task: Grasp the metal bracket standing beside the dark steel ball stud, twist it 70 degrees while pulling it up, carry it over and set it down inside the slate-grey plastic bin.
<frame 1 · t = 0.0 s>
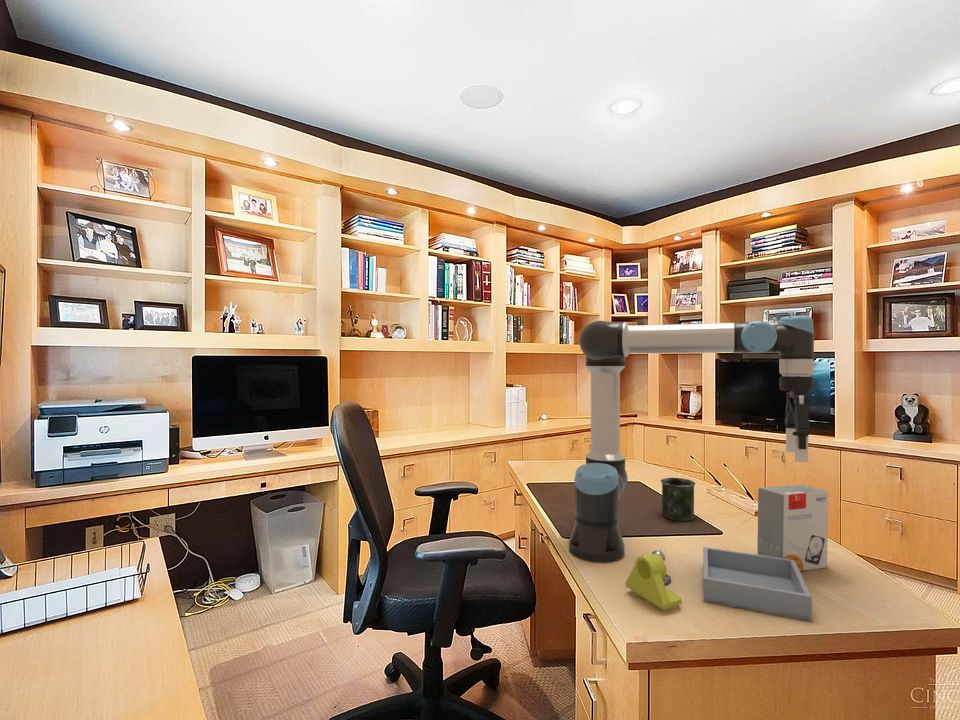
hand: (796, 456, 126), 28 cm above the table, tool pointing down, fingers open, 13 cm apart
hard drive box: (792, 566, 125), on the table
bracket: (654, 601, 107), on the table
ball stud: (658, 579, 117), on the table
mug: (676, 518, 163), on the table
bin: (750, 590, 112), on the table
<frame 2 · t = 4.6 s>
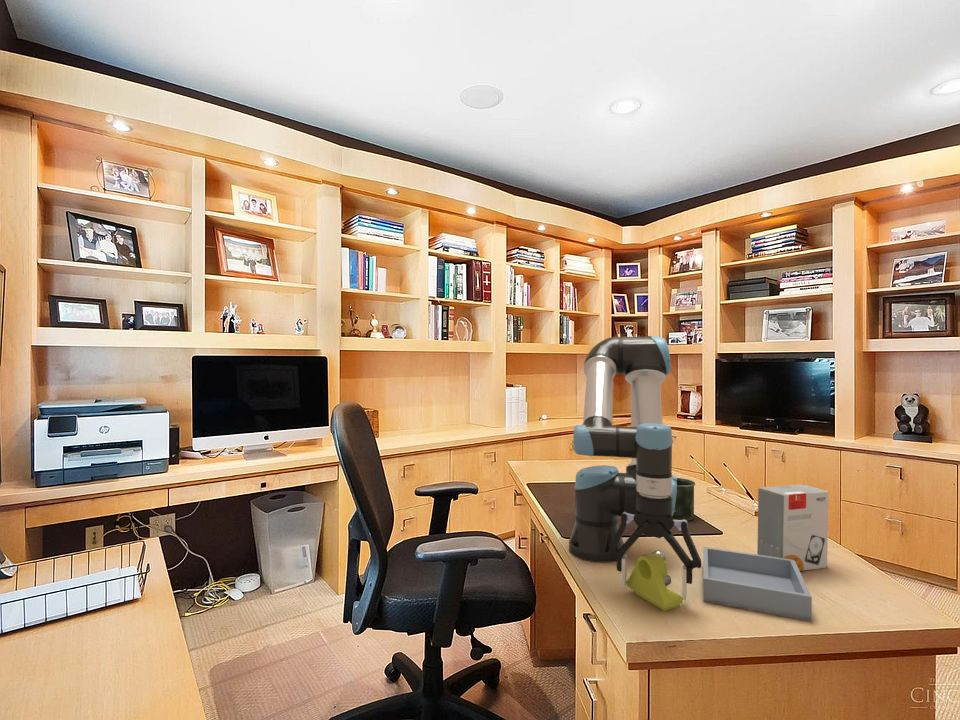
hand: (653, 591, 107), 2 cm above the table, tool pointing down, fingers closed on bracket, 12 cm apart
bracket: (654, 601, 107), on the table, touching gripper
everything else where it was.
when the fingers open (5 cm above the table, at t = 12.4 s): bracket drops 2 cm, resting on bin.
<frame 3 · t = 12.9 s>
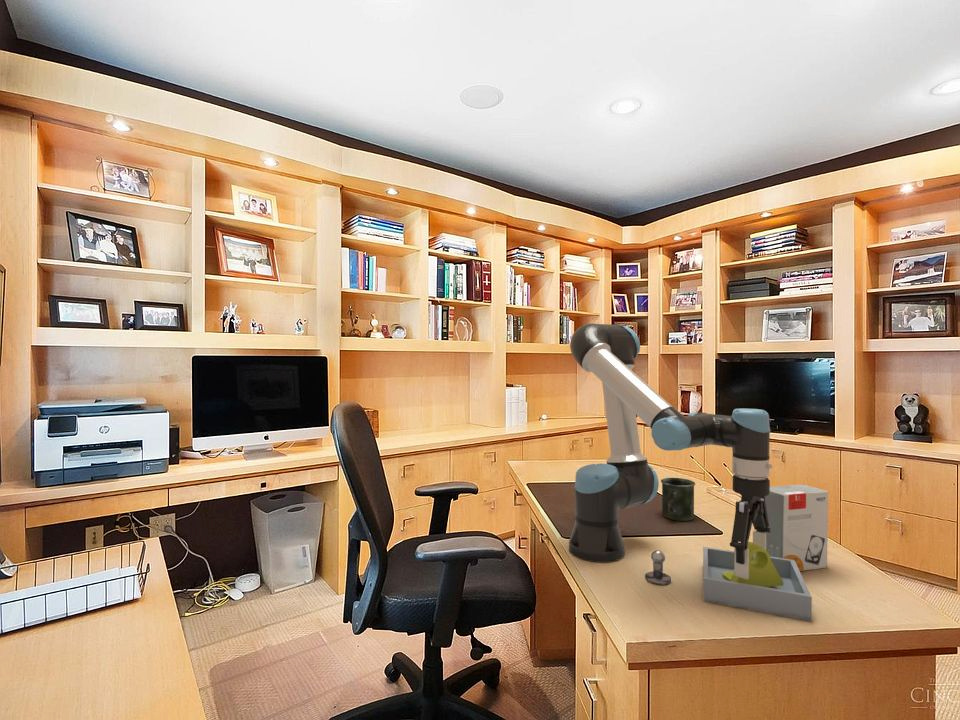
hand: (750, 567, 112), 5 cm above the table, tool pointing down, fingers open, 13 cm apart
bracket: (750, 587, 112), point 1 cm above the table, touching bin
everything else where it was.
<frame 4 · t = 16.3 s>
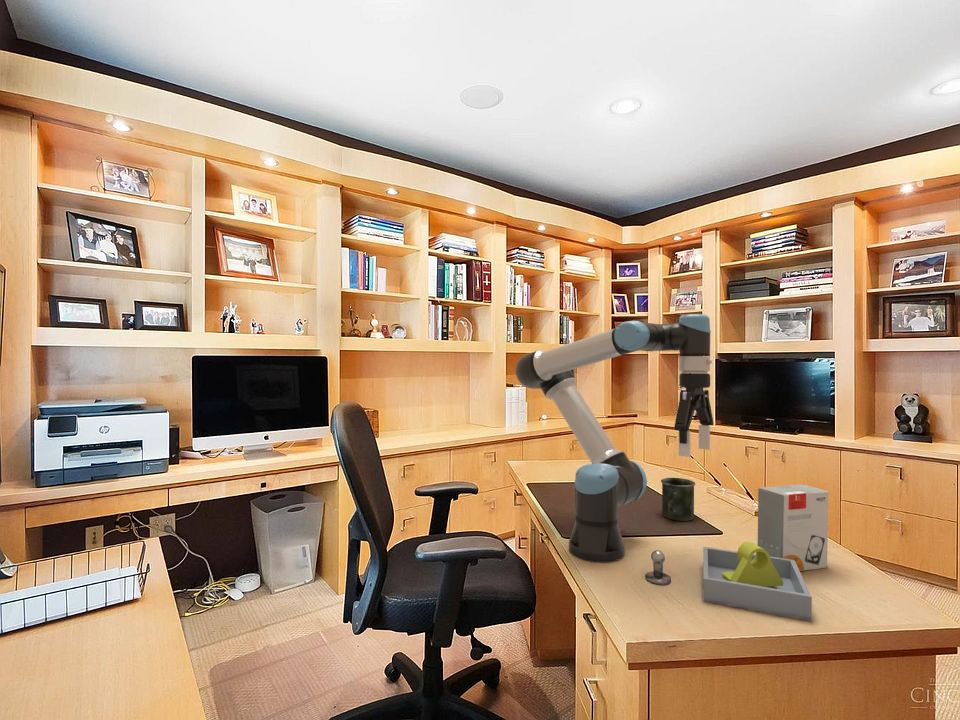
hand: (694, 452, 128), 29 cm above the table, tool pointing down, fingers open, 13 cm apart
nothing on the table moved.
at the end: bracket inside the target area on the bin (0.2 cm from its centre), point 0.6 cm above the bin's base; the gripper is holding nothing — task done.
